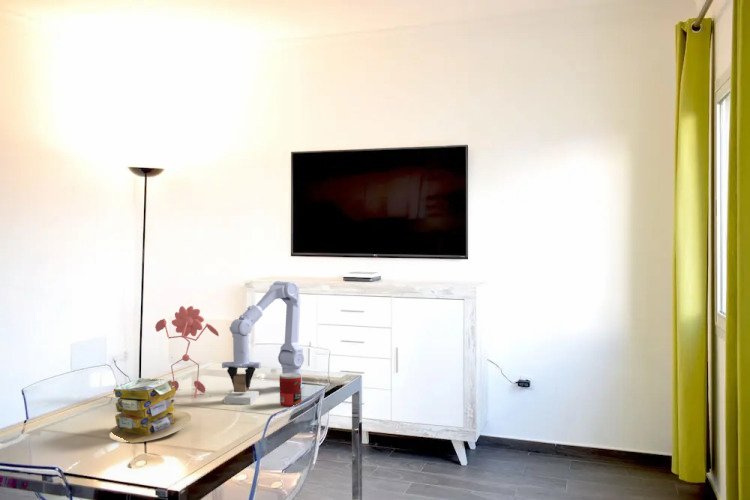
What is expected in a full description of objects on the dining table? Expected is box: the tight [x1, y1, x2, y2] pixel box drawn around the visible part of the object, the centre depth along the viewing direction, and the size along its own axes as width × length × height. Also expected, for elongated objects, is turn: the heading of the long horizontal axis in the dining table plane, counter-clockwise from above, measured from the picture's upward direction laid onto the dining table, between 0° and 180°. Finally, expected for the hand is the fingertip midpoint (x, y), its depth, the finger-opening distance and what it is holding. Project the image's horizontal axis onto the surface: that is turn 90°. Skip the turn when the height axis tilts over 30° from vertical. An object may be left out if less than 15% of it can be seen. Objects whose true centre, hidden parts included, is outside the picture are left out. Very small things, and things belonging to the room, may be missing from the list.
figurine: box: [154, 305, 220, 398], centre depth 256 cm, size 15×26×35 cm, turn 87°
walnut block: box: [233, 373, 250, 392], centre depth 242 cm, size 4×4×6 cm
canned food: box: [279, 373, 302, 408], centre depth 236 cm, size 8×8×11 cm
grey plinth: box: [223, 390, 260, 405], centre depth 243 cm, size 10×10×2 cm
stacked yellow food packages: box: [109, 377, 192, 444], centre depth 205 cm, size 25×25×17 cm
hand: (241, 387), depth 243 cm, fingers closed on walnut block, 4 cm apart
